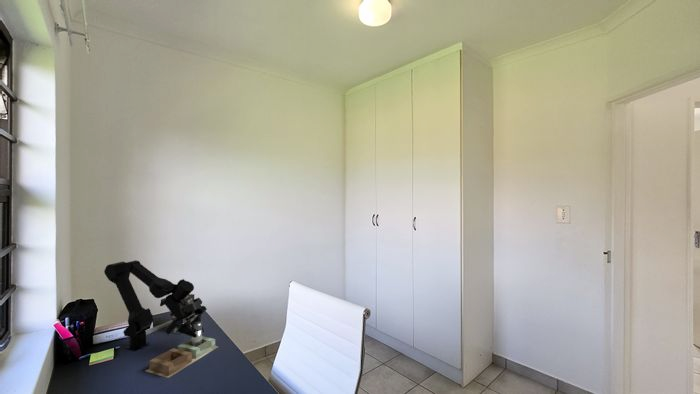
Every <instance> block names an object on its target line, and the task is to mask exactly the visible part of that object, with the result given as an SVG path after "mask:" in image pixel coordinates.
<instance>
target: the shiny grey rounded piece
mask: <svg viewBox="0 0 700 394" xmlns="http://www.w3.org/2000/svg"><path fill="white" fill-rule="evenodd" d="M202 326H203V320H201V321H195V322H192V329H193V330H194V331H195V333H196V335H197V337H196V338H194V337H191V336H190V339H191V346H194V347H197V346H199V345H201V344H202V336H203V333H202Z"/></svg>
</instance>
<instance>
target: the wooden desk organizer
mask: <svg viewBox="0 0 700 394" xmlns="http://www.w3.org/2000/svg"><path fill="white" fill-rule="evenodd" d="M218 348H219V346H217V345H216V338H212V337H207V336H203V335H202V344H201V345H199V346H197V347H194V346H191V338H190V339H188V340H186V341H184V342H183V343H180V344H178V345H177V348H175V347H173V348H171V349H169V350H167V351H165V352H163V353H161V354H159V355H158V356H156V357H154V358H152V359H150V360H149V361H148V365H149V368H148V369H145V372H147V373H150V374H153V375H157V376H160V377H163V378H168V379H169V378H171V377H172V376H174V375H175V374H177V373H179V372H180V371H182V370H183V369H185V368H187V367H188V366H190V365H191V364H193V363H195V362H197V361H199V360H200V359H201V358H203V357H205V356H206V355H208V354H210V353H211V352H213V351H214V350H216V349H218Z"/></svg>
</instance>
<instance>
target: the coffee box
mask: <svg viewBox="0 0 700 394" xmlns="http://www.w3.org/2000/svg"><path fill="white" fill-rule="evenodd" d="M194 299H195V294H192V293H190V294H189V295H188V296H187V297H186V298H185V299H184V300H182V301H183V302H184V303H186V302H188V303H189V304H191V303H193V300H194ZM192 313H193V312H192ZM171 320H172V322H173V321H174V320H176V318H175V316H172V319H171ZM190 323H191V321H190ZM190 326H191V325H190ZM191 327H192V326H191ZM177 330H178V329H177V328H175V329H174V332H173V333H172V334H174V333H175V334H181V333H180V332H176V331H177Z"/></svg>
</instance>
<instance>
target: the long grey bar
mask: <svg viewBox="0 0 700 394" xmlns="http://www.w3.org/2000/svg"><path fill="white" fill-rule="evenodd" d="M171 323H172V319H171V320H168V321H166V322H163V323H161V324H158V325H155V326H154V327H150V329H148V330H146V331H145V332H146V336H147V335H149V334H152V333H153V332H156V331H159V330H160V329H163V328H165V327H166V328H167V327H168V326H169V325H170V324H171Z"/></svg>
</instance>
